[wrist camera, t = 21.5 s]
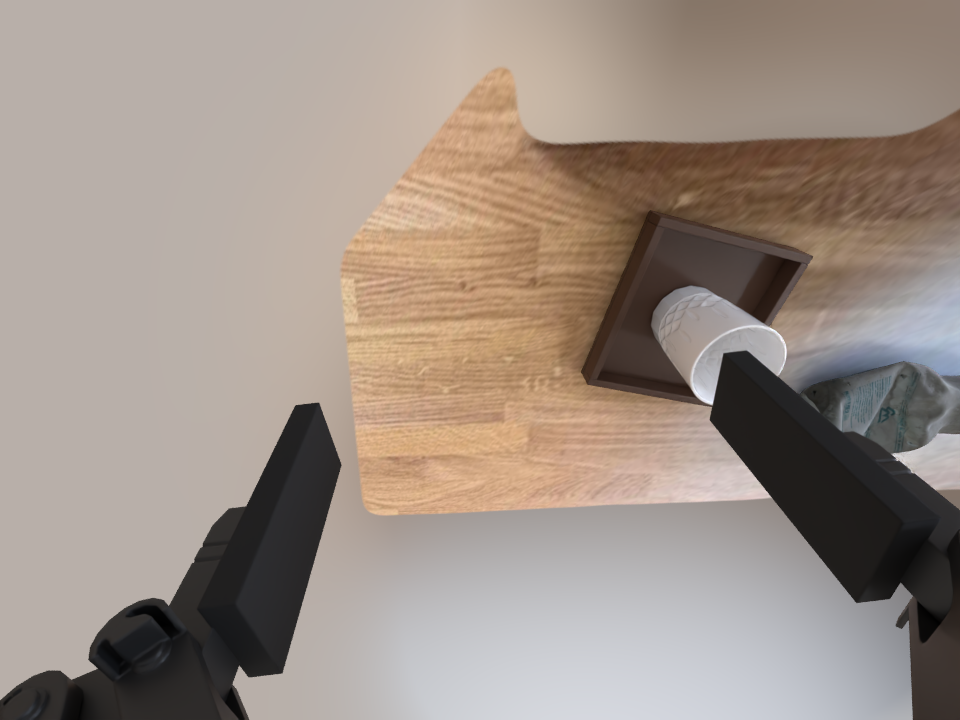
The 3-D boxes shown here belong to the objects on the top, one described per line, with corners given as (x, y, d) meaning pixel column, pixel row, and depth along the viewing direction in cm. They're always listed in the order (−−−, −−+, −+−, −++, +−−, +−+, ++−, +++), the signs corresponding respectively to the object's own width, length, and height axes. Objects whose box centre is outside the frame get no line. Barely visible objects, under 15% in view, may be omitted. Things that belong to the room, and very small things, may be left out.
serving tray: (649, 210, 40) (661, 216, 38) (795, 248, 43) (813, 256, 41) (580, 372, 49) (587, 384, 47) (706, 395, 52) (718, 408, 49)
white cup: (723, 270, 43) (791, 314, 35) (721, 339, 47) (782, 394, 39) (642, 291, 44) (689, 339, 35) (647, 357, 48) (690, 415, 39)
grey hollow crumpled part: (764, 449, 56) (961, 436, 57) (803, 489, 50) (1025, 473, 50) (790, 355, 51) (1009, 340, 51) (838, 386, 44) (1088, 369, 44)
